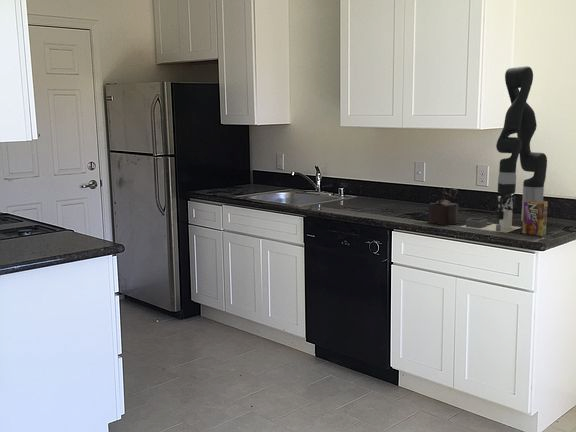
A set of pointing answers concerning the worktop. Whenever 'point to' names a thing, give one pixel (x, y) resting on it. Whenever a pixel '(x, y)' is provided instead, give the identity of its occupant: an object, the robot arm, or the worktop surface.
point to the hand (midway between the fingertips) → (504, 218)
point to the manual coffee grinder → (444, 210)
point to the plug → (506, 220)
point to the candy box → (535, 217)
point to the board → (486, 225)
